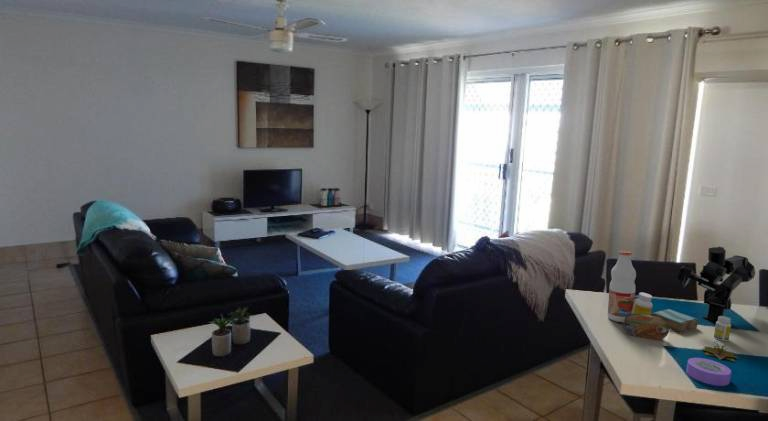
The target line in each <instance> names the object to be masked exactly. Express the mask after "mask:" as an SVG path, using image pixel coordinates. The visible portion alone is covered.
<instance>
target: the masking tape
mask: <svg viewBox="0 0 768 421" xmlns="http://www.w3.org/2000/svg"><path fill="white" fill-rule="evenodd" d="M685 372H686V374H687V375H688V376H689V377H690V378H692V379H694V380H696V381H698V382H701V383H704V384H707V385H710V384H711V386H718V387H724V386H728V385H730V382H731V375H732V370H731V369H730V368H729V367H728V366H727V365H724V364H722V363H720V362H717V361H715V360H712V359H707V358H702V357H691V358H688V359H687V364H686V371H685Z"/></svg>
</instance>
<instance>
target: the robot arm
mask: <svg viewBox="0 0 768 421" xmlns="http://www.w3.org/2000/svg"><path fill="white" fill-rule="evenodd" d="M726 252H727V250H726V249H725V247H723V246H716V247H709V248H708V254H707V256H708V258H707V260H706V262H705V263H704V264H703V266H702V267H703V268H702V270H701V271H700V272H699V274H696V273H694V269H693V268H691V267H688V266H687V265H683V266H682V267H680V269H679V273H678V275H677V279H678V281H679V282H681V283H682V286H681V287H682V288H685V287H686V286H687V285H688V284H689V283H690V281H691V280H693V281H695V282H697V285H698V286H700V287H702V288H704V289H705V291H704V293H703V304H707V305H708V306H707V314H706V315H704V316H702V318H703V319H705V320H708V321H712V322H714V323H716V322H717V321H718V317H719V316H725V310H731V309H732V299H731V296H732V295H733V291H734V290H736V289H737V287H738V286H739V285H740V284H742V283H746V282H747V283H748V282H750V281H752V279H754V278H755V275H756V268H755V266H754V265H753V264H752V263H751V262H750V261H749V258H748V257H745V256H742V255H733V256H731V257H728V258H726ZM726 275H729V276H727V277H725V276H726ZM724 277H725V278H724ZM718 282H721V283H720V284H719V283H718Z"/></svg>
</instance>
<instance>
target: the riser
mask: <svg viewBox="0 0 768 421" xmlns="http://www.w3.org/2000/svg"><path fill="white" fill-rule="evenodd" d="M650 316H655V317H660V318H662V319H663V320H664V321H665V322H666V323H667V324H668V326H669V331H670V330H671V331H674V332H676V333H678V334H683V333H685V332H689V331H691V330H696V329H698V328H697V327H698V321H699V319H698V318H696V317H693V316H691V315H687V314H684V313H681V312H679V311H676V310H673V309H669V308H668V309H663V310H658V311H656V312H651V314H650Z"/></svg>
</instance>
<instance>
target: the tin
mask: <svg viewBox="0 0 768 421" xmlns="http://www.w3.org/2000/svg"><path fill="white" fill-rule="evenodd" d="M623 329H624V330H625V332H626V333H627V334H629V335H630V336H632V337H637V338H641V339H642V338H643V339H649V340H654V341H660V340H664V339H665V338H666V337H667V336H669V332H670V329H669V326H668V324H667V323H666V322H665V321H664V320H663V319H662V318H660V317H655V316H651V315H650V316H648V315H642V314H630V315H628V316H627V317H626V318H625V320H624V322H623Z"/></svg>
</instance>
